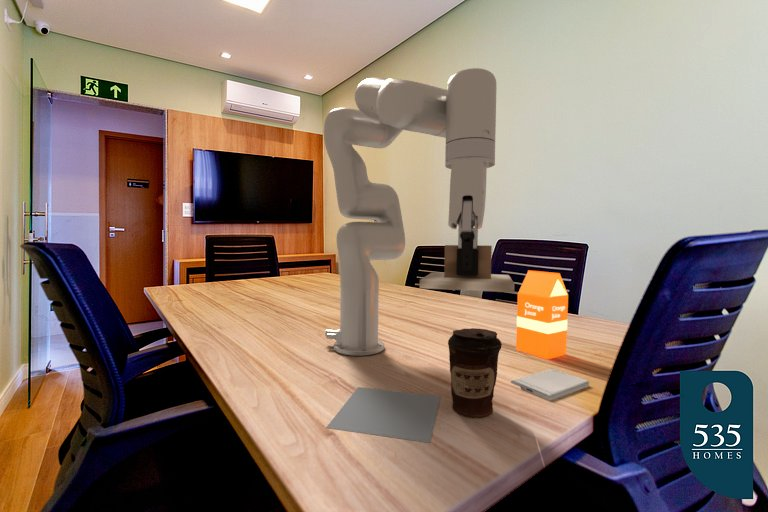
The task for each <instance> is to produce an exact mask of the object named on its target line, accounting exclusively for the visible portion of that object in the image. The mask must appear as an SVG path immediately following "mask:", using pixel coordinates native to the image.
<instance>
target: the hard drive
mask: <svg viewBox="0 0 768 512" xmlns="http://www.w3.org/2000/svg"><path fill="white" fill-rule="evenodd" d="M510 383H511V384H514V385H515V386H518V387H520V389H521V390H522V391H525V392H527V393H528V394H529V393H530V394H532V395H534V396H537V397H539V398H542V399H544V400H546V401H548V402H551V401H553V400H556V399H559V398H561V397H564V396H567V395H569V394H572V393H574V392H577V391H580V390H583V389H585V388H589V387H590V381H589V380H587V379H584V378H582V377H579V376H576V375H573V374H570V373H567V372H564V371H560V370H557V369H554V368H549V369H545V370H542V371H539V372H534V373H531V374H528V375H525V376H522V377H519V378H515V379H512V380H510Z"/></svg>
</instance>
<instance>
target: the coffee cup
mask: <svg viewBox="0 0 768 512" xmlns="http://www.w3.org/2000/svg"><path fill="white" fill-rule="evenodd" d="M497 335H498V333H497V332H496V331H494V330H489V329H486V328H476V327H474V328H473V327H472V328H461V329H456V330H454V329H453V330H452V335H451V336H450V337H449V339H448V341H447V345H448V351H449V352H448V353H449V355H448V357H449V361H448V362H449V372H450V393H451V398H452V399H451V401H452V410H453V412H455V414H457V415H459V416H461V417H465V418H469V419H478V420H480V419H485V418H489V417H490V416H493V415H494V407H493V406H494V405H493V399H494V396H495V395H494V393H495V386H496V382H497V376H498V360H499V354H500V351H501V349H502V345H503V344H502V341H501V340H500V339H499V338H498V336H497Z"/></svg>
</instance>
